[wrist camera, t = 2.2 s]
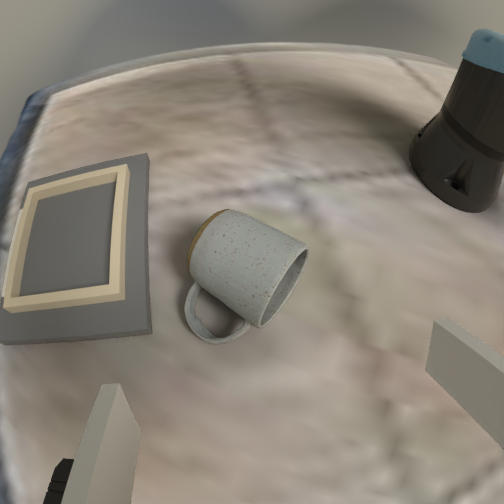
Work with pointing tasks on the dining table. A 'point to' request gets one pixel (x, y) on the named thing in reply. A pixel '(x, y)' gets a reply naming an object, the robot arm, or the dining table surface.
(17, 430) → the dining table surface
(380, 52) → the dining table surface
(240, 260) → the ceramic mug
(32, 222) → the charcoal pocket board
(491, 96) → the robot arm
